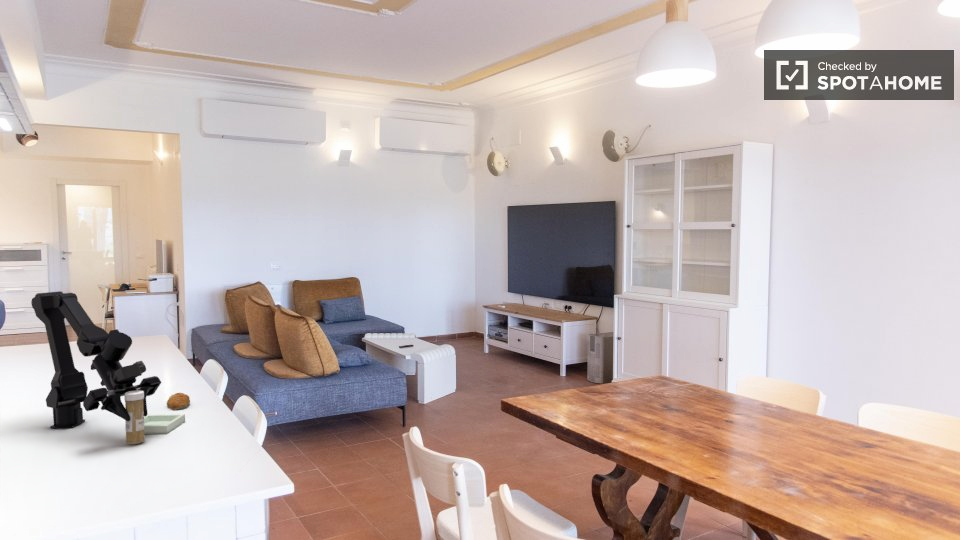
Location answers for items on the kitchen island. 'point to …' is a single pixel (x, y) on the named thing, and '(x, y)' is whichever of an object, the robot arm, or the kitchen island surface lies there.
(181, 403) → the pastry
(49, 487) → the kitchen island surface
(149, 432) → the tray
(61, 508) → the kitchen island surface
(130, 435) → the sprinkles bottle
